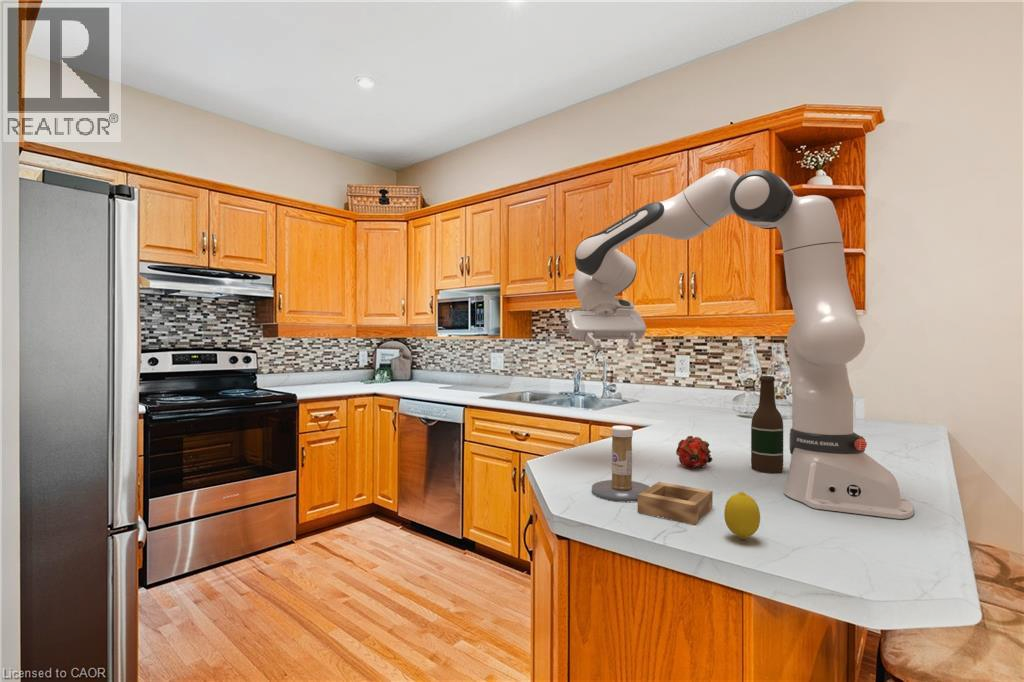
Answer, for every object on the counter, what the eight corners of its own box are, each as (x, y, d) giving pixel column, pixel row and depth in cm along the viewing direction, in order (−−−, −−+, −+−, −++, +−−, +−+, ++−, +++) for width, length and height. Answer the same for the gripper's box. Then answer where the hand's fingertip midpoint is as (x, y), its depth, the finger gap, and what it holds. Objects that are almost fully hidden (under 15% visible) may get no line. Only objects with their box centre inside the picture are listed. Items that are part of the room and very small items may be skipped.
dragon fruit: (696, 466, 142) (696, 485, 131) (670, 447, 143) (668, 464, 132) (716, 444, 139) (718, 460, 128) (689, 424, 141) (689, 439, 130)
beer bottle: (746, 465, 137) (746, 374, 137) (777, 466, 136) (777, 375, 135) (756, 473, 129) (756, 377, 129) (789, 474, 128) (789, 377, 128)
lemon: (764, 547, 84) (764, 497, 84) (728, 544, 85) (727, 495, 85) (755, 534, 89) (755, 488, 89) (721, 532, 90) (721, 486, 90)
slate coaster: (661, 490, 115) (661, 486, 115) (637, 506, 104) (637, 501, 104) (608, 481, 122) (608, 476, 122) (581, 494, 112) (581, 489, 112)
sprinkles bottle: (607, 488, 113) (607, 426, 113) (619, 483, 117) (619, 424, 116) (625, 492, 110) (625, 429, 110) (636, 488, 113) (636, 426, 113)
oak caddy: (712, 508, 103) (712, 491, 103) (694, 524, 94) (694, 505, 94) (658, 498, 109) (658, 481, 109) (637, 512, 101) (637, 494, 101)
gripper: (565, 301, 134) (578, 339, 124) (638, 302, 138) (656, 339, 129) (560, 319, 138) (572, 357, 129) (630, 319, 143) (647, 356, 133)
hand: (615, 348), depth 129 cm, fingers open, 8 cm apart
